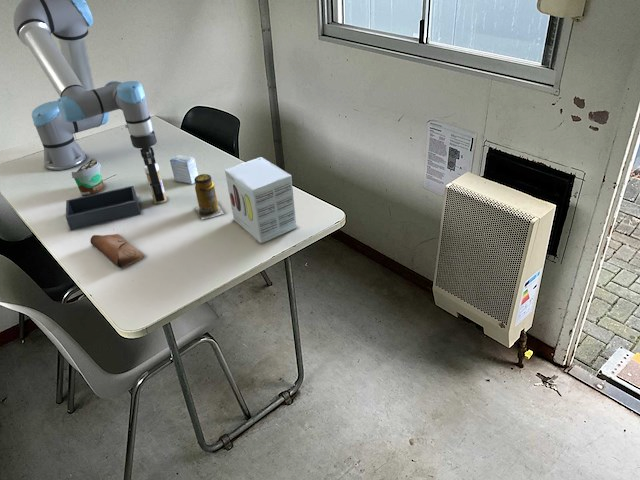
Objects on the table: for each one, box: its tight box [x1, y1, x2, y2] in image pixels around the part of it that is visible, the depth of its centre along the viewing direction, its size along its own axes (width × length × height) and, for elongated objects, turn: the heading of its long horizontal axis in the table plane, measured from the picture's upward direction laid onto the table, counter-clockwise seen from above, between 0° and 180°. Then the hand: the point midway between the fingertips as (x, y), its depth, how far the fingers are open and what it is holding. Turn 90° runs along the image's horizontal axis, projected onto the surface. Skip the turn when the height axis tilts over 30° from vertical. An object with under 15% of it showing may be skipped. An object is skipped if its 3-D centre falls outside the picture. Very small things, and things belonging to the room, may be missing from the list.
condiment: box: [194, 173, 225, 220], centre depth 163 cm, size 7×8×12 cm
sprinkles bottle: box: [143, 162, 168, 205], centre depth 170 cm, size 5×5×13 cm
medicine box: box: [169, 154, 199, 185], centre depth 183 cm, size 8×4×9 cm, turn 65°
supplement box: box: [224, 156, 298, 244], centre depth 152 cm, size 17×13×18 cm
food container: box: [71, 157, 105, 197], centre depth 180 cm, size 12×6×10 cm, turn 168°
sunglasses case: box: [90, 233, 145, 269], centre depth 149 cm, size 18×7×7 cm
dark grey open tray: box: [65, 185, 141, 231], centre depth 168 cm, size 12×22×5 cm, turn 112°
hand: (159, 197), depth 173 cm, fingers closed on sprinkles bottle, 4 cm apart
